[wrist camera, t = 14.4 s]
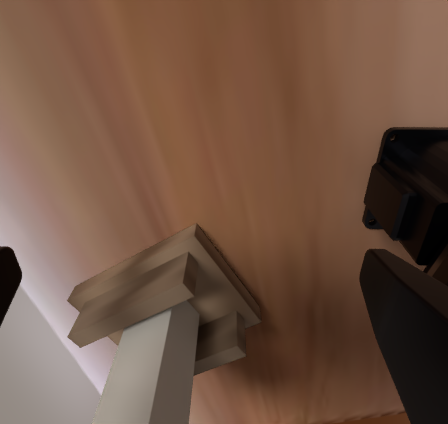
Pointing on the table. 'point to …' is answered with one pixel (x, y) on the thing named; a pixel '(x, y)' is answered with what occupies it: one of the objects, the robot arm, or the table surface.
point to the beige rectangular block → (152, 370)
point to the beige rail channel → (170, 297)
